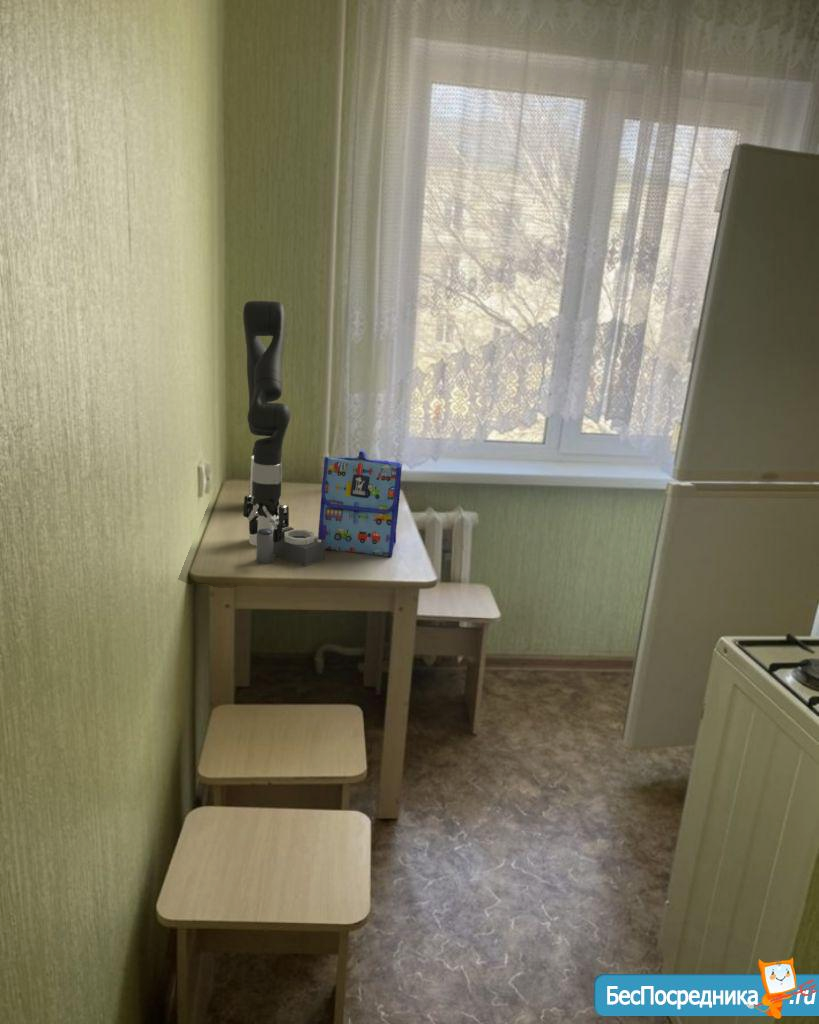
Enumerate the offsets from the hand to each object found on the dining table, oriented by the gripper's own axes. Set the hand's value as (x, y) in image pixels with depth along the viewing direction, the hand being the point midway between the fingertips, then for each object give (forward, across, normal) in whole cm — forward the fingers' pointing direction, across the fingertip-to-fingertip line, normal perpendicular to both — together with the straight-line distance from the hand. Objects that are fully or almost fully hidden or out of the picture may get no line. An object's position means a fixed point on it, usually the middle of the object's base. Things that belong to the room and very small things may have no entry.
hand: (265, 537), depth 203 cm
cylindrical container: (+7, -11, +10) cm, 17 cm away
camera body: (+7, +4, +9) cm, 12 cm away
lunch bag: (+7, +10, +28) cm, 31 cm away
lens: (+7, 0, 0) cm, 7 cm away
